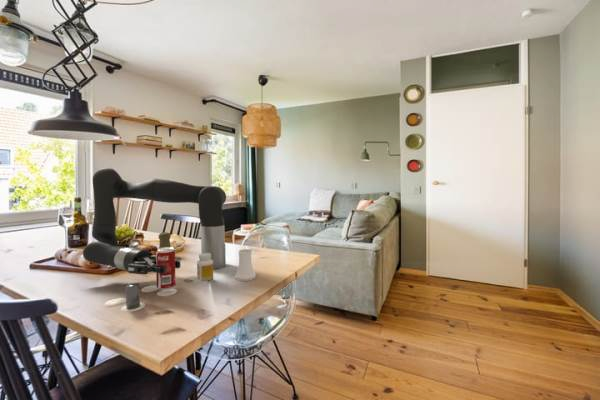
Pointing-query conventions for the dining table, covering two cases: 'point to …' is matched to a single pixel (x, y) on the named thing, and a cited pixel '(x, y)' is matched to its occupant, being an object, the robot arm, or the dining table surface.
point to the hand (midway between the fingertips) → (171, 267)
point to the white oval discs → (147, 289)
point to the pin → (132, 296)
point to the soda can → (166, 268)
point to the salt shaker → (245, 266)
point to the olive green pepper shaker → (164, 240)
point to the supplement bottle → (205, 267)
